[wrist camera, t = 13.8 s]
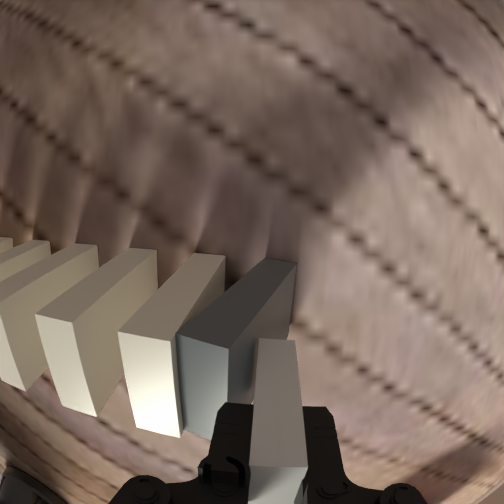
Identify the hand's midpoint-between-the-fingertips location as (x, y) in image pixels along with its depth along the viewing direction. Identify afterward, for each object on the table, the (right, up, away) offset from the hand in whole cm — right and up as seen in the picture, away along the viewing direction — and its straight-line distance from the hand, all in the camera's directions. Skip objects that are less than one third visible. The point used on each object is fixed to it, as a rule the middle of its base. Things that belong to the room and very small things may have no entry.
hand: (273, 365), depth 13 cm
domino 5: (-4, +2, +7) cm, 8 cm away
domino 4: (-8, +3, +7) cm, 11 cm away
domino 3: (-13, +3, +8) cm, 15 cm away
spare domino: (+1, +2, +7) cm, 7 cm away
